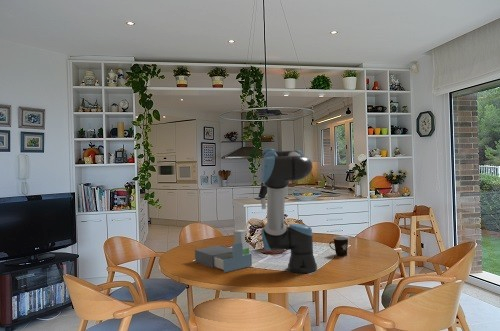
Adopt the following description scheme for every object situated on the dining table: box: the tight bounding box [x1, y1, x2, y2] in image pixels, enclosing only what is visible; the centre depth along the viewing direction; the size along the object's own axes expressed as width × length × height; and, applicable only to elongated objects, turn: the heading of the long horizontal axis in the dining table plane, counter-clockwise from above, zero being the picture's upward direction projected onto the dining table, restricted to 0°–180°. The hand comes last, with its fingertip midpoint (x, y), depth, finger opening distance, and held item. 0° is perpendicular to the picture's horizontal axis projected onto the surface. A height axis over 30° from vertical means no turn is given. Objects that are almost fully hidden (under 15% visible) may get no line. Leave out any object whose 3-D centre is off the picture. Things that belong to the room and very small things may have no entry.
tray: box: [213, 243, 253, 273], centre depth 197 cm, size 20×18×14 cm
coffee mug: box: [328, 236, 349, 257], centre depth 212 cm, size 12×9×10 cm
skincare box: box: [232, 229, 251, 255], centre depth 221 cm, size 8×7×16 cm
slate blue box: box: [194, 244, 232, 269], centre depth 206 cm, size 20×18×7 cm
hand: (270, 209), depth 213 cm, fingers open, 13 cm apart
